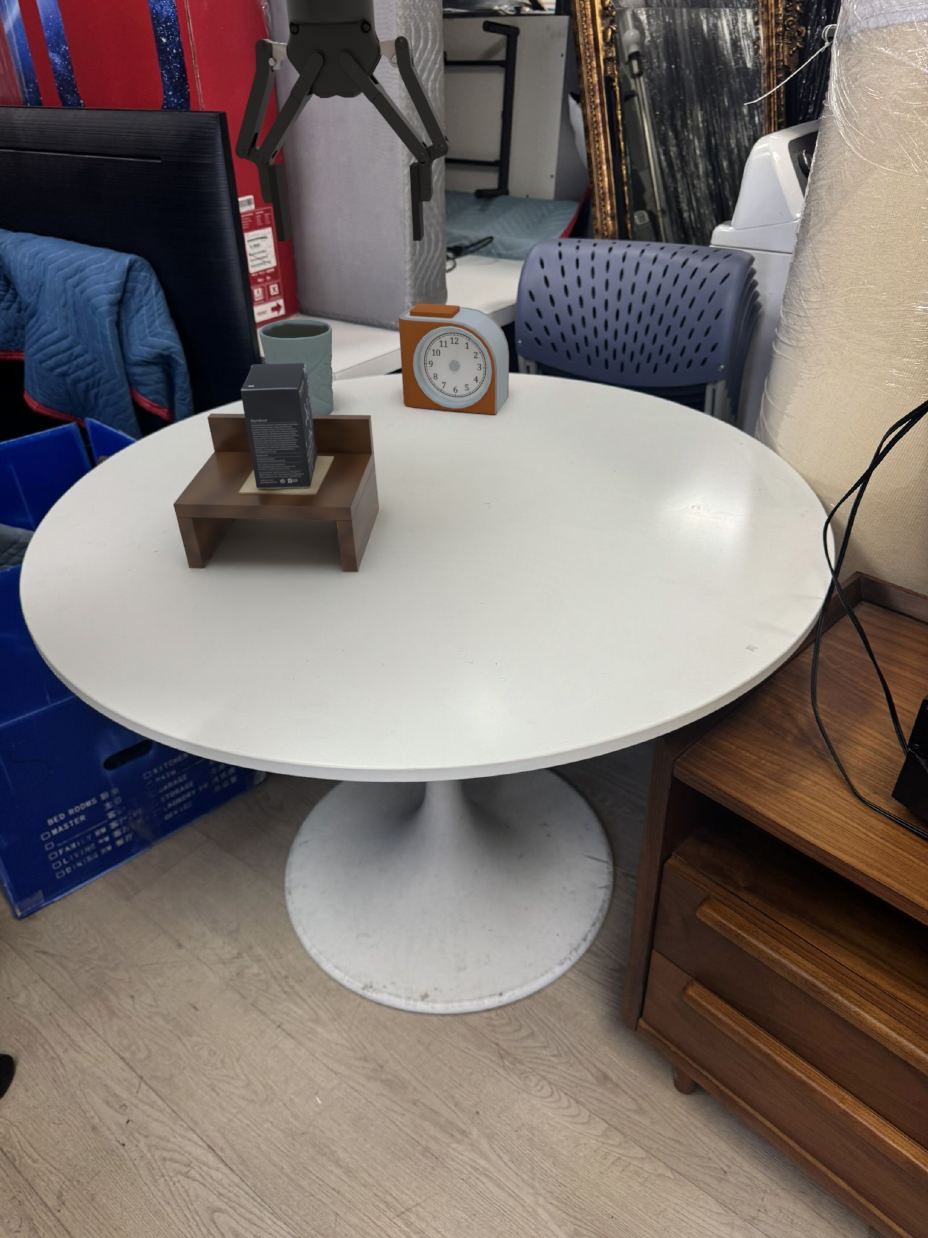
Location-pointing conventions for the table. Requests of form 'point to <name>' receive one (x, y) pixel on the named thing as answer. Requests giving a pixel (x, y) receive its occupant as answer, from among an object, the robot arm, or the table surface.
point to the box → (280, 425)
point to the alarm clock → (453, 359)
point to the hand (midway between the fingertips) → (351, 238)
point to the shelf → (333, 494)
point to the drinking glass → (303, 355)
